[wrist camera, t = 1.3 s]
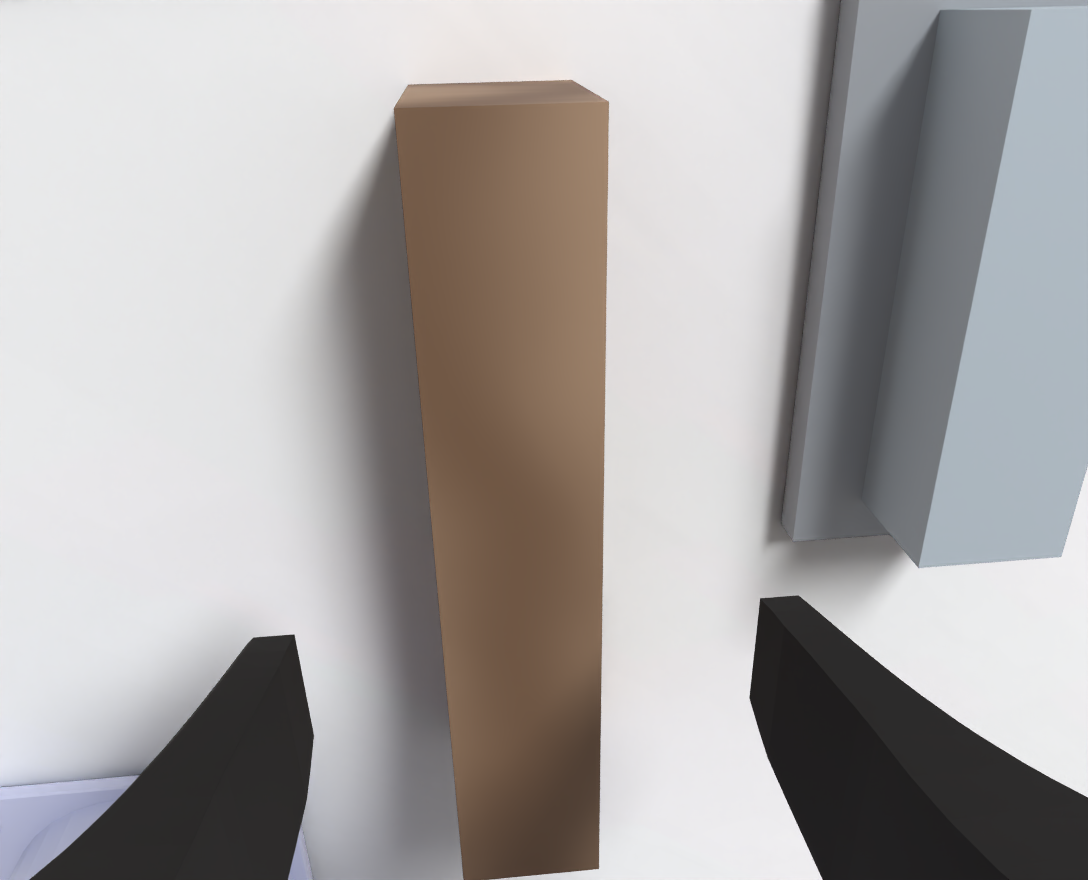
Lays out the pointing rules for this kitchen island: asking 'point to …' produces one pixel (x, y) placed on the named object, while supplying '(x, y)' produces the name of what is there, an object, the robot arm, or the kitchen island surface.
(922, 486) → the fulcrum stand
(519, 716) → the walnut beam
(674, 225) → the kitchen island surface
